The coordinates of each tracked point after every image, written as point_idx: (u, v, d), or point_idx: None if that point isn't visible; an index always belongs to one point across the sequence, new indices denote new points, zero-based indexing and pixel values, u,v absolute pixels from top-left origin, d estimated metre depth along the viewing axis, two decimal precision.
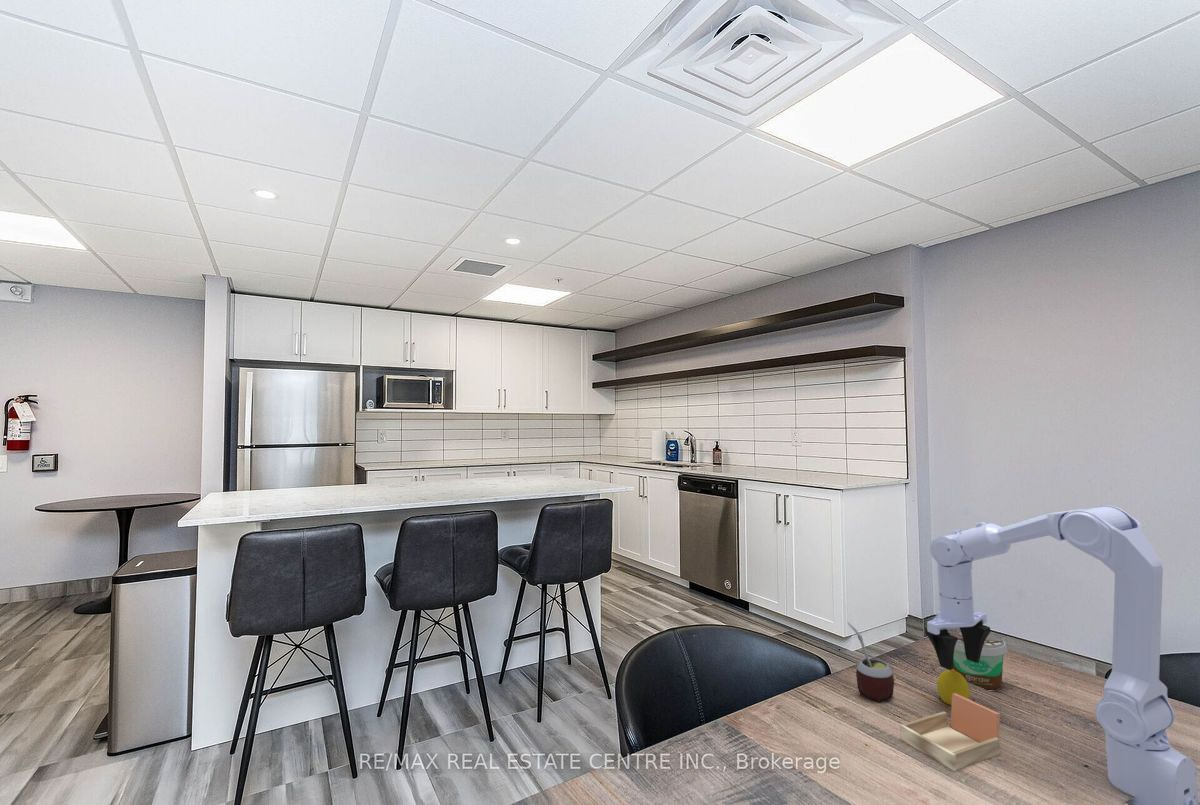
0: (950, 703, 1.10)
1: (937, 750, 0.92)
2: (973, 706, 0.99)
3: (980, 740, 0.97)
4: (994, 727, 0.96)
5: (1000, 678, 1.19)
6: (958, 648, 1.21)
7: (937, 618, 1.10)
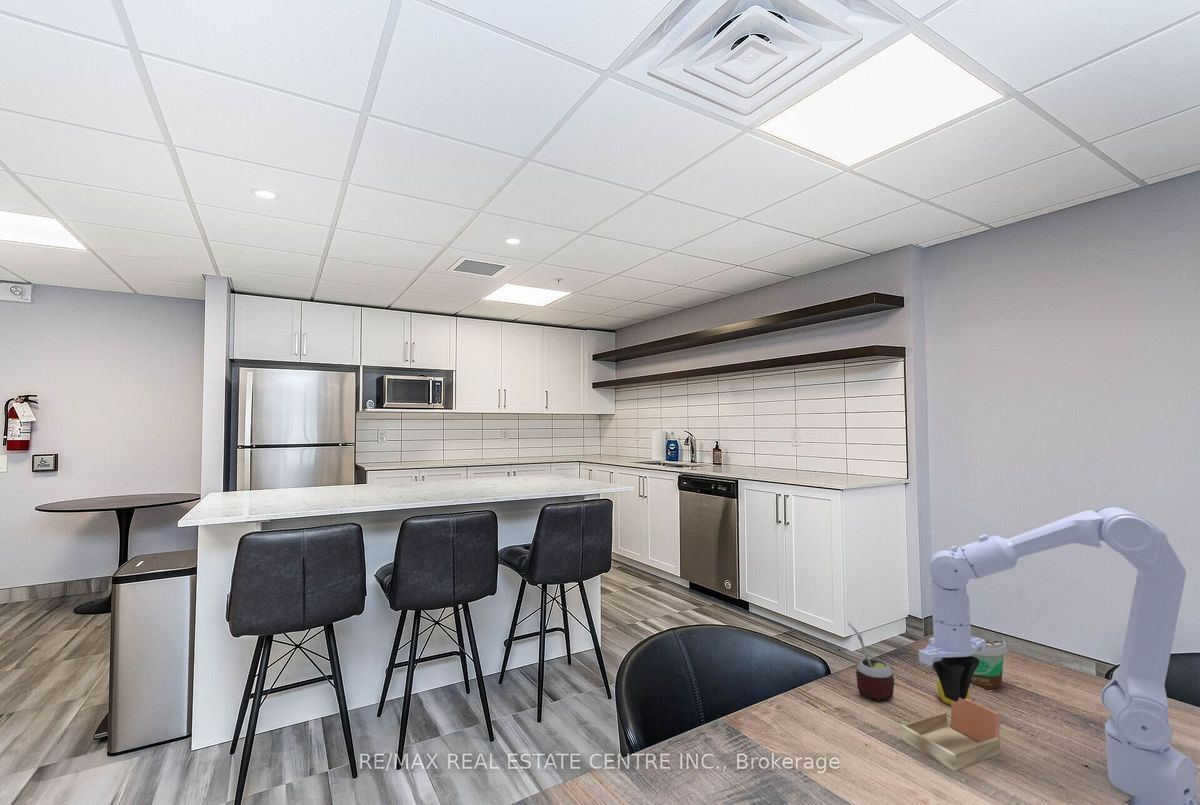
0: (950, 703, 1.10)
1: (937, 750, 0.92)
2: (973, 706, 0.99)
3: (980, 740, 0.97)
4: (994, 727, 0.96)
5: (1000, 678, 1.19)
6: None
7: (930, 646, 0.98)
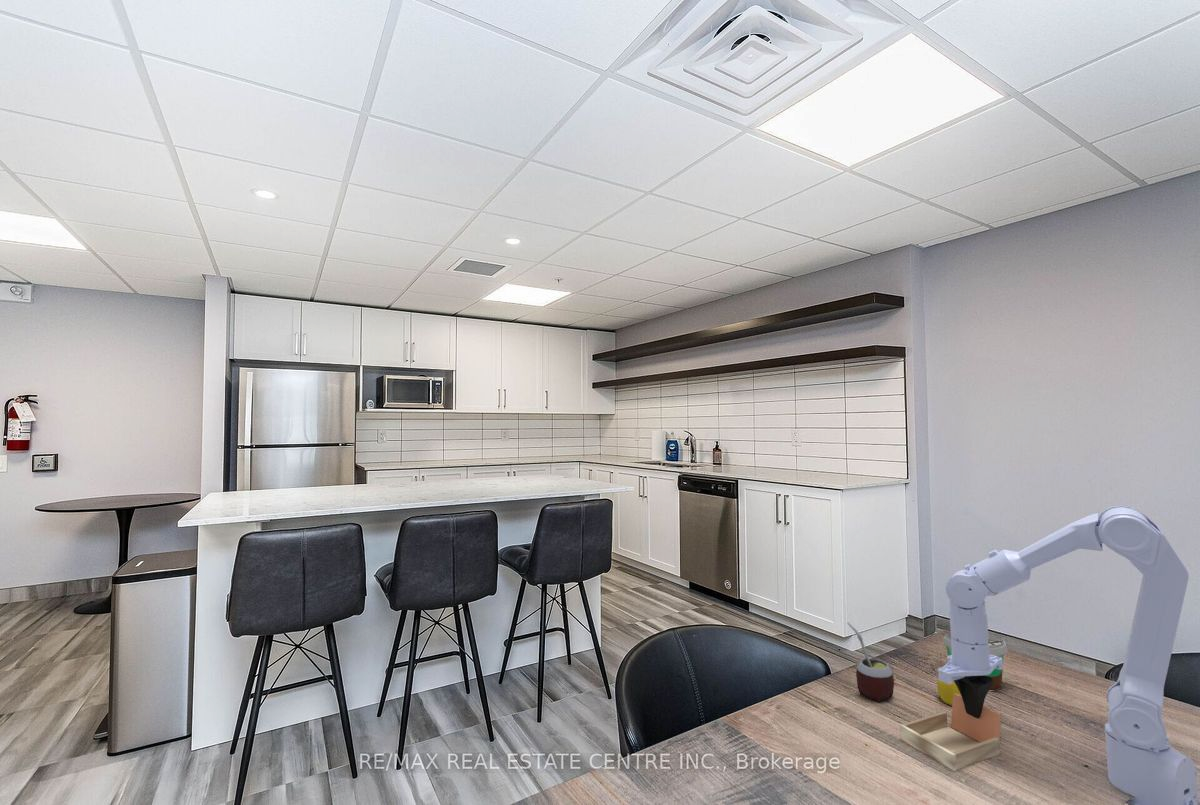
0: (950, 703, 1.10)
1: (937, 750, 0.92)
2: None
3: (980, 740, 0.97)
4: (994, 727, 0.96)
5: (1000, 678, 1.19)
6: None
7: (949, 664, 1.00)
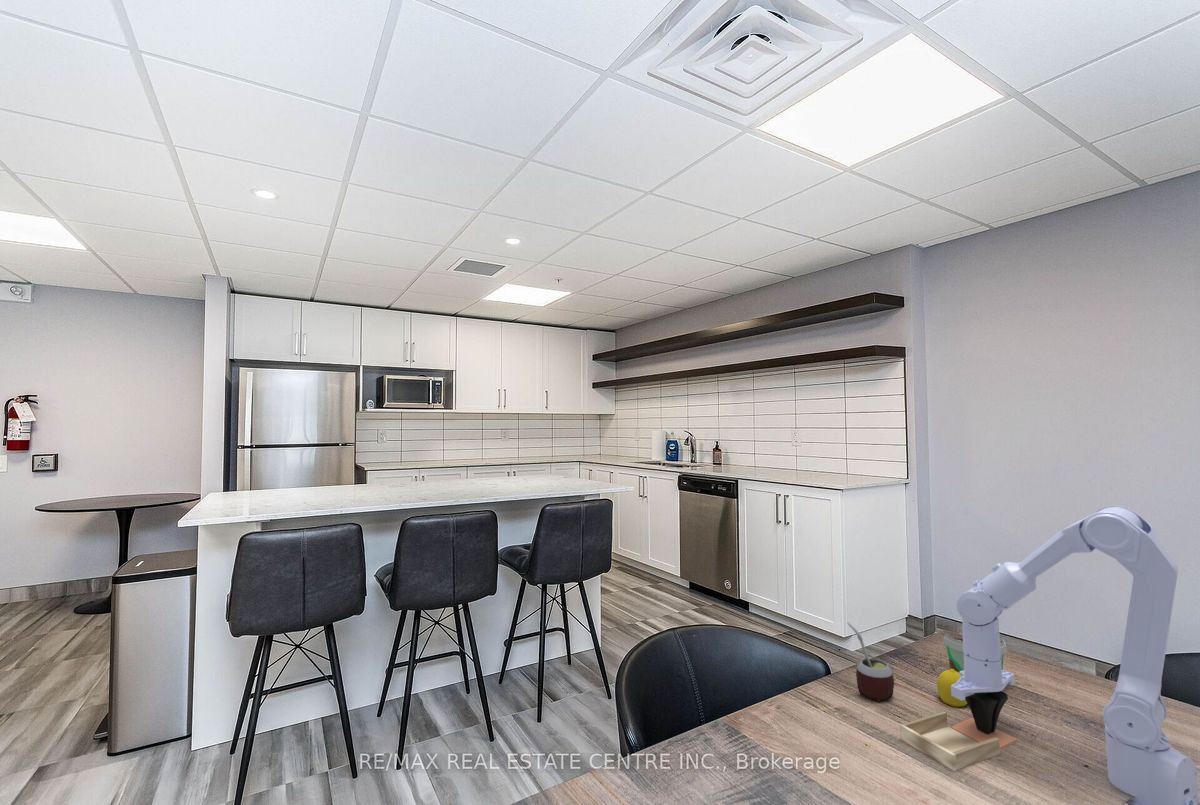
0: (950, 703, 1.10)
1: (937, 750, 0.92)
2: None
3: (981, 741, 0.97)
4: (1006, 742, 0.97)
5: None
6: (958, 648, 1.21)
7: (961, 680, 1.01)
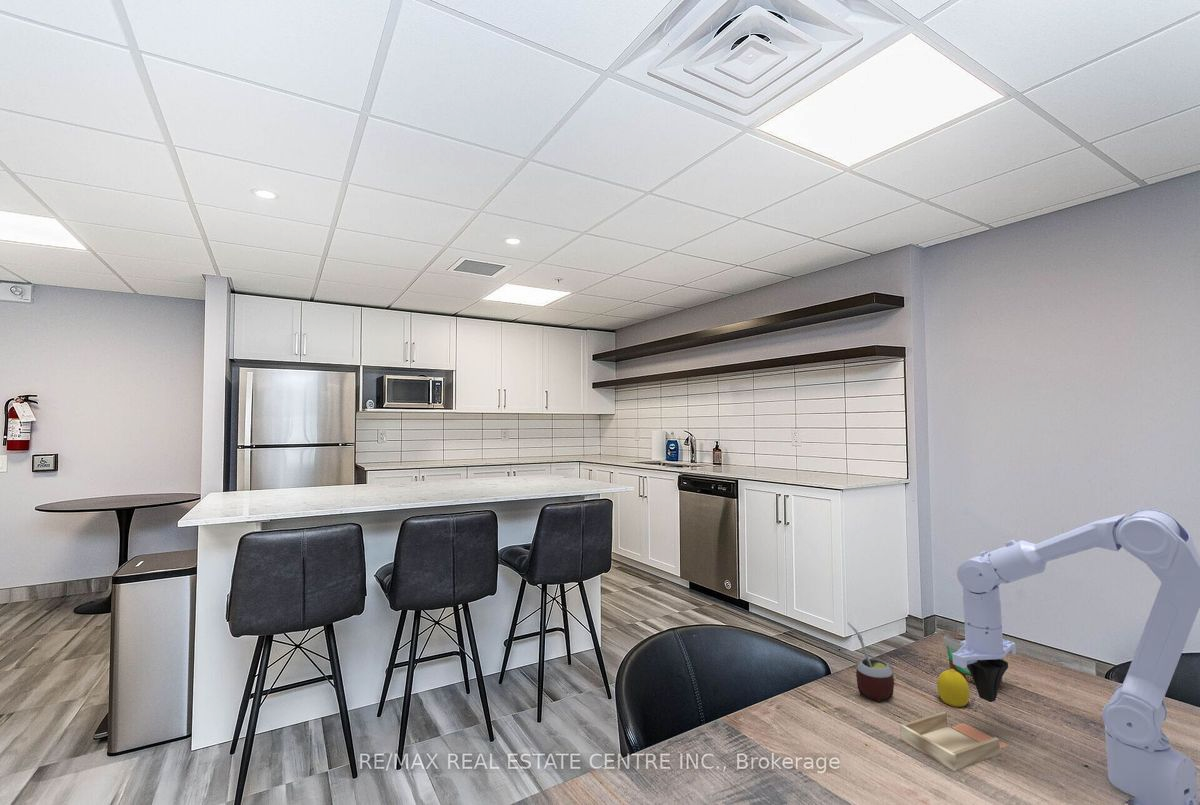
0: (950, 703, 1.10)
1: (937, 750, 0.92)
2: None
3: None
4: None
5: None
6: (958, 648, 1.21)
7: (963, 649, 1.01)
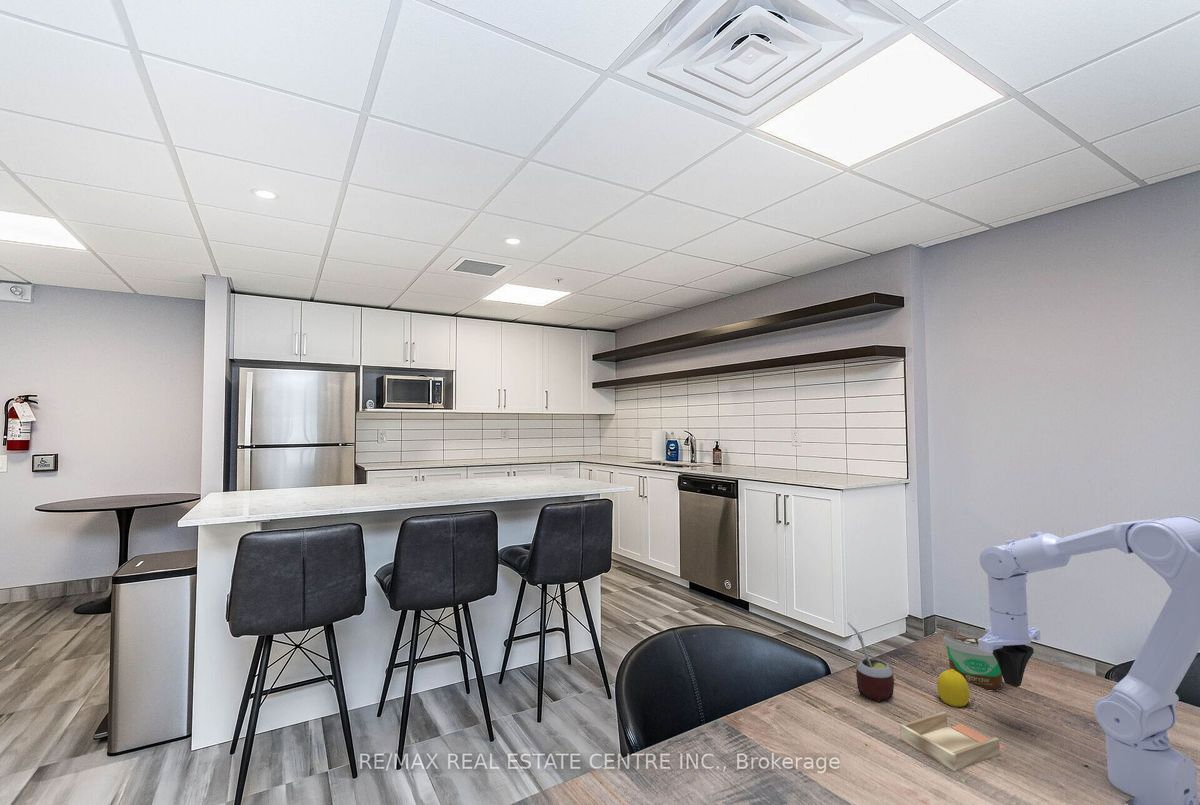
0: (950, 703, 1.10)
1: (937, 750, 0.92)
2: None
3: None
4: None
5: (1000, 678, 1.19)
6: (958, 648, 1.21)
7: (988, 635, 1.03)
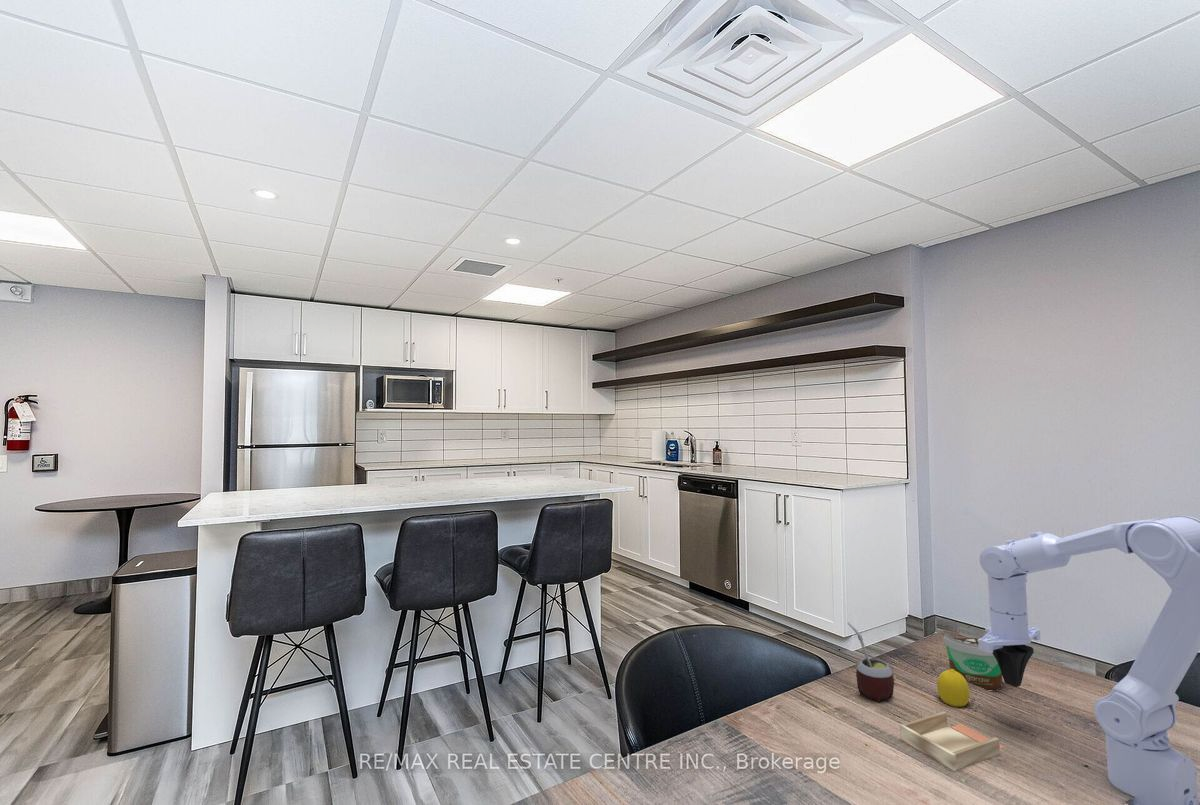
0: (950, 703, 1.10)
1: (937, 750, 0.92)
2: None
3: None
4: None
5: (1000, 678, 1.19)
6: (958, 648, 1.21)
7: (988, 635, 1.03)
